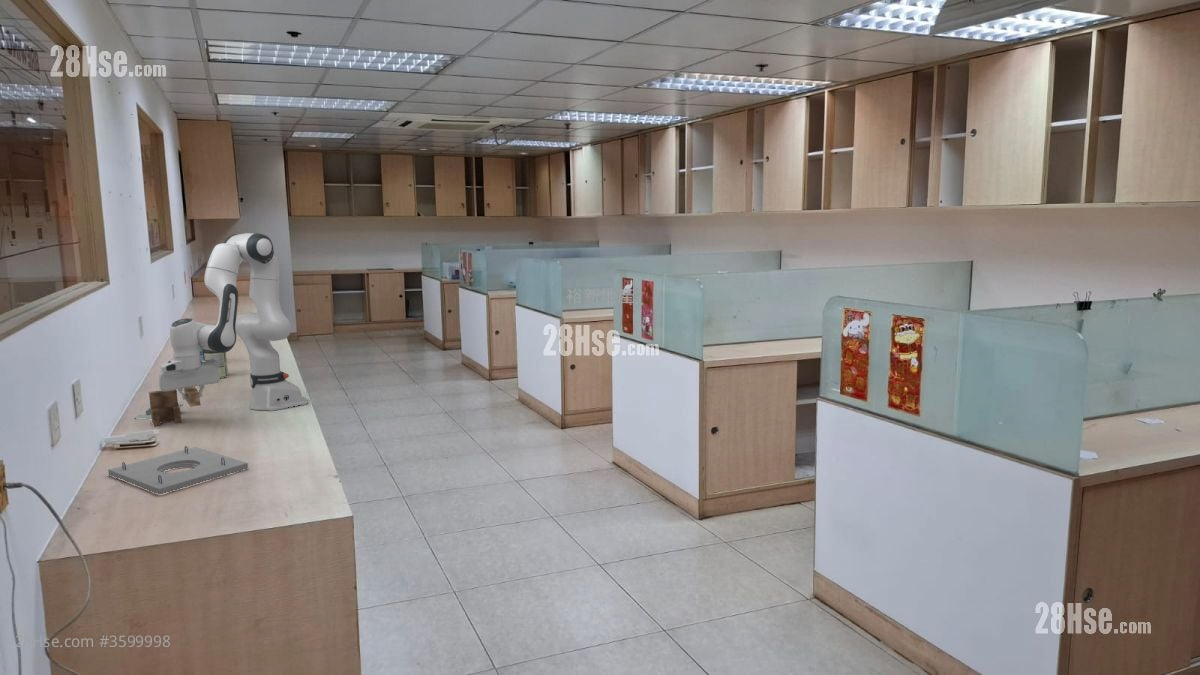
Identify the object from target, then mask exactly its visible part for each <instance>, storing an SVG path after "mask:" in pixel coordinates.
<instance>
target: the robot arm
mask: <svg viewBox="0 0 1200 675" xmlns="http://www.w3.org/2000/svg"><path fill="white" fill-rule="evenodd" d="M274 253H275V252H274V244H273V242H272V240H271V239H270V237H269V236H268V235H265V234H263V233H257V232H256V233H253V232H245V233H239V234H238V233H236V234H231V235H230V236H228V237H227V238H225V239H224V241H223V242H222V243H218V244H216V245H215V246H214V248H213V249H212V251H211V253H210V255H209V259H208V261H207V264H206V268H205V271H204V286H206V288H207V289H208V291H210V292H211V293H212V294H214V295H215V296H216V297H217V299H218V301H219V310H218V319H217V323H216V325H215V324H214V325H213V324H208V323H203V322H198V321H197V320H194V319H193V318H181V319H178V320H175V321H174V322H173V323H171V325H170V331H169V337H170V344H171V348H172V349H173V352H172V359H170V360H167V361H165V362H163V363H161V364H160V370H161V371H160V372H159V373H158V374H159V375H158V386H159V390H160V391H161V390H162V391H168V390H175V389H176V390H178V391H177V392H179V393H180V394H181V396H182V400H184V401H186V399H188V398H187V394H185V392H183V391H184V388H188V387H194V386H195V387H198V388H199V390H198V392H199V397H200V398H202V397H203V394H202V393H203V391H204V389H205V386H206V385H212V384H218V383H219V382H221V379H220V375H219V371H218V369H219V362H218V361H217V360H214V359H210V360H202V361H201V358H200V350H201V349H205V350H212V351H216V352H220V353H225V352H226V353H227V352H230V351H231V350H232V349H233V348H234V346H235V345H236V343H237V336H239V337H240V339H241V340H242V341H243V343H244V345H245V348H246V350H247V353H248V356H249V364H250V374H249V376H250V377H249V379H250V380H249V381H250V382H249V384H250V387H251V396H250V404H249V409H250V410H255V411H272V412H273V411H278V410H284V409H289V408H294V407H293V406H295V407H299V406H298V405H300V406H305V405H307V404H308V403H309V400H308V398H306V397H304V396H302V395H303V394H302V391H301V389H300V388H299V387H298V386H297V385H295V384H293V383H292V382H290V381H289V380H287V379H288V378H289V376H290V375H289V373H287V372H284V371H282V370H281V363H280V354H279V352H278V351H277V349H275V348H274V346H273V345H272V344H271V342H276V341H282V340H285V339H287V338H289V336H290V334H291V332H292V324H291V321H290V319H289V318H288V317H287V316H286V315H285V314H284V312H283V309H282V307H281V306H282V305H281V303H280V276H281V275H280V273H281V272H280V264H279V258H278V257H277V256H276V254H274ZM242 262H248V263H249V265H250V266H249V267H250V275H249V292H248V293H249V299H250V301H252V302H253V304H254V305H255V308H256V309H257V310H256V311H257V312H247V313H242V314H239V315H238V316H237V313H238V304H239V290H238V289H237V279H238V274H239V269H240V265H241V263H242ZM214 361H215V362H214ZM288 407H289V408H288Z"/></svg>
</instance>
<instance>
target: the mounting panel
mask: <svg viewBox="0 0 1200 675" xmlns="http://www.w3.org/2000/svg"><path fill="white" fill-rule="evenodd" d="M178 467H194V468H189V469H186V470H183V471H175V472H165V473H164V471H165V470H168V469H173V468H178ZM247 468H248V469H249V463H248V462H246V461H242V460H239V459H236V458H233V457H229V456H226V455H223V454H220V453H216V452H212V451H210V450H207V449H205V448H200V447H196V446H194V447H190V448H189V447H188V446H187V445H185V446H184V449H182V450H178V451H174V452H171V453H166V454H163V455H160V456H155V457H151V458H148V459H144V460H140V461H136V462H133V463H128V464H126V462H125V461H123V462H122V463H121V465H120V466H117V467H112V468H109V469H108V470H107V471H108V476H109V475H111V476H114V477H117V478H120V479H123V480H125V481H127V482H130V483H132V484H135V485H137V486H140V487H142V488H144V489H147V490H149V491H152V492H154V493H158V494H163V493H166V492H170V491H173V490H177V489H180V488H183V487H187V486H190V485H193V484H196V483H200V482H203V481H206V480H210V479H213V478H217V477H220V476H224V475H227V474H230V473H234V472H237V471H241V470H243V469H247ZM178 469H179V468H178ZM173 470H174V469H173ZM241 472H242V471H241Z"/></svg>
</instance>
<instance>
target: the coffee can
mask: <svg viewBox="0 0 1200 675" xmlns="http://www.w3.org/2000/svg"><path fill="white" fill-rule="evenodd" d="M202 352H203V360H210V359H214V360H217V361H218V362H219V369H218V371H219V375H220V378H223V379H225V378H224V377H227V376H228V377H229V372H228V361H227V360H228V359H227V352H225V353H220V352H216V351H212V350H205V349H204V350H202ZM214 362H215V361H214ZM228 377H227V378H228Z"/></svg>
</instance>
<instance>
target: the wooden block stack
mask: <svg viewBox="0 0 1200 675" xmlns="http://www.w3.org/2000/svg"><path fill="white" fill-rule="evenodd" d="M177 390H178V389H175V390H168V391H162V390H161V389H160V390H154V391H148V395H149V404H150V405H149V408H151V418H152V420H151V423H153V424H152V426H153V425H154V426H158V427H161V423H160V422H164V423H168V422H169V423H170V422H173V423H174V424H175V425H177V424H182V416H181V407H180V408H179V406H178V404H179V400H178V391H177ZM154 426H153V427H154Z"/></svg>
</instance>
